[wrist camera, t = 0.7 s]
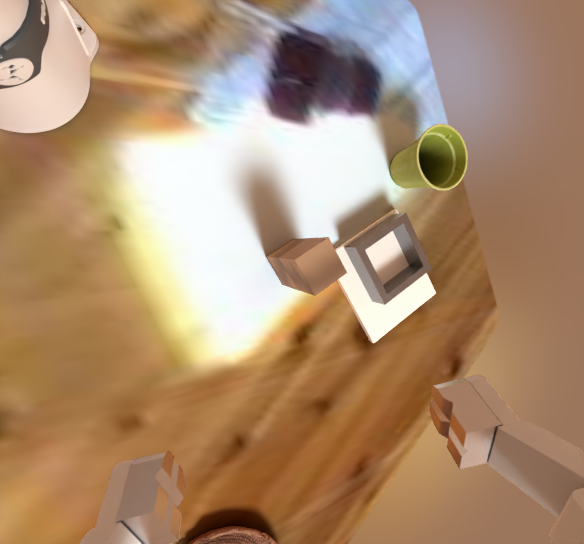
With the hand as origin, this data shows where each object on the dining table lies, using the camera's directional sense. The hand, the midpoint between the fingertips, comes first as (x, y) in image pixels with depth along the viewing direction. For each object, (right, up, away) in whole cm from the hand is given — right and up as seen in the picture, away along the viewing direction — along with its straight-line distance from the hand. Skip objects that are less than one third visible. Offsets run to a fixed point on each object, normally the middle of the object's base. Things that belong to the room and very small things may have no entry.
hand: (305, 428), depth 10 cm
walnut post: (-1, +6, +41) cm, 41 cm away
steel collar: (+14, +7, +46) cm, 49 cm away
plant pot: (+19, +22, +47) cm, 55 cm away
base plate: (+15, +4, +47) cm, 49 cm away
